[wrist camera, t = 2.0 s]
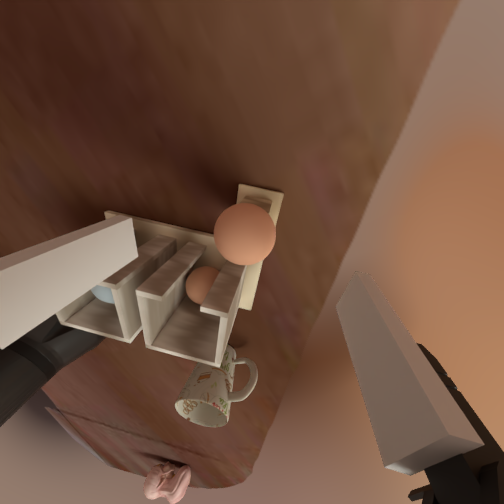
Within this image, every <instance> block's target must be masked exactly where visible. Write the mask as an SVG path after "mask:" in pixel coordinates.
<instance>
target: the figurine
mask: <svg viewBox="0 0 504 504" xmlns="http://www.w3.org/2000/svg"><path fill="white" fill-rule="evenodd" d="M174 470H175V464H172V463H169V461H167V463H166V464H164V465H163V464H161V463H160V464H158V465H155V466H153V468H152V469H151V471H150V472H149V473H148V476H147V478H146V480H145V483H144V488H143V490H144V493H145V496H146V497H147V498H149V499H156V498H158V497H166V499H167V500H168V502H169V503H170V504H175V503H177V502H179V501H180V500H181V499H182V497H184V495H185V492H186V489H187V487H188V484H189V482H190V478H191V473H190V467H189V465H184V466H182V467H181V468H180V469H179V470H178V471H177V473H176V474H174Z"/></svg>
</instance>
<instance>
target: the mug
mask: <svg viewBox="0 0 504 504" xmlns="http://www.w3.org/2000/svg"><path fill="white" fill-rule="evenodd" d="M240 363H246V364H247V365H248V366H249V368H250V372H251V376H250V380H249V382H248V384H247V385H246V386H245V388H244V389H243V390H241V391H238V392H232V387H233V378H234V369H235V364H240ZM257 377H258V370H257V367H256V365H255V363H254V362H253V361H252V360H250V359H249V358H238V359H236V352H235V350H234V349H233V348H232V347H231V346H230V345H228V344H227V346H226V349H225V352H224V355H223V359H222V362H221V365H220V368H219V367H215V366H212V365H208V364H204V363H201V362H198V363H197V365H196V366H195V368H194V370H193V372H192V374H191V375H190V377H189V379H188V381H187V382H186V384H185V386H184V388H183V389H182V391H181V393H180V395H179V397H178V398H177V400H176V403H175V408H176V410H177V412H178V413H179V414H180V415H181V416H183V417H184V418H186V419H187V420H189V421H191V422H194V423H196V424H199V425H203V426H208V427H221V426H224V425H225V424H226V423H227V422H228V419H229V413H230V404H231V402H237V401H242V400H244V399H245V398H246V397H248V395H249V394H250V393H251V392H252V390H253V389H254V387H255V384H256V382H257Z"/></svg>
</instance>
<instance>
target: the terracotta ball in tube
mask: <svg viewBox="0 0 504 504" xmlns="http://www.w3.org/2000/svg"><path fill="white" fill-rule="evenodd" d="M218 274H219V271H218V270H217V269H215V268H213V267H209V266H203V267H199V268H197V269H195V270H194V271H192V272H191V273H190V275H189V276H188V278H187V280H186V292H187V295H188V297H189V298H190V299H191V300H192V301H193V302H195V303H197V304H200V305H201V304H202V303H203V301H204V299H205V297H206V296H207V294H208V292H209V290H210V288H211V287H212V285H213V283H214V281H215V279H216V278H217V276H218Z"/></svg>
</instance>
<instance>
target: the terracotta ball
mask: <svg viewBox="0 0 504 504" xmlns="http://www.w3.org/2000/svg"><path fill="white" fill-rule="evenodd" d="M275 239H276V230H275V225H274V222H273V220H272V218H271V217H270V215H269V214H268V213H267V212H266V211H265V210H264V209H262V208H261V207H259V206H257V205H254V204H250V203H239V204H235V205H233V206H230V207H229V208H227V209H226V210H225V211H223V212H222V214H221V215H220V216H219V218H218V219H217V221H216V224H215V227H214V241H215V244H216V247H217V249H218V251H219V252H220V253H221V255H222V256H223V257H224V258H226V259H227V260H228V261H230V262H232V263H234V264H238V265H252V264H255V263H258V262H260V261H262V260H263V259H264V258H265V257H267V256H268V254H269V253H270V252H271V250H272V248H273V246H274V243H275Z"/></svg>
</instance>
